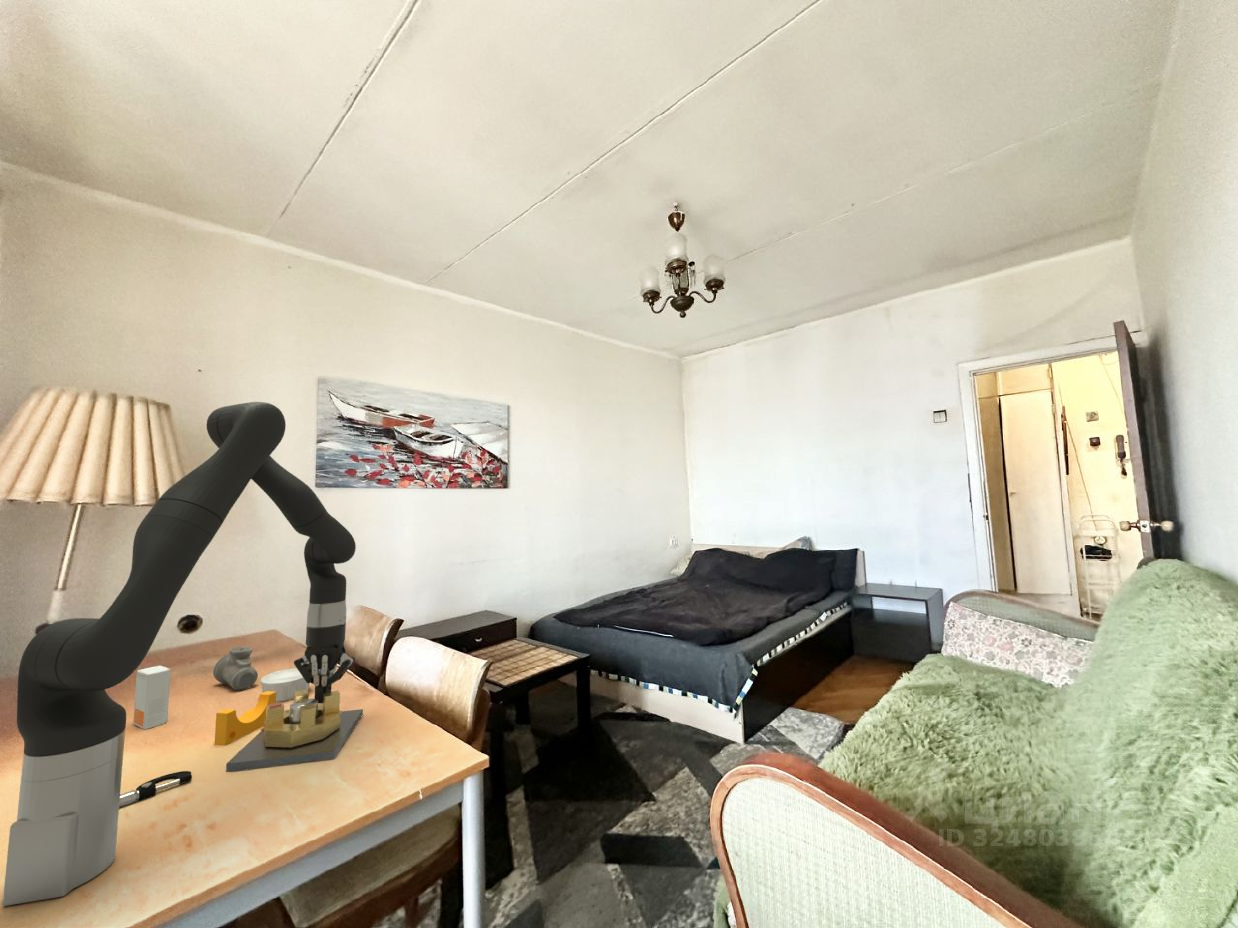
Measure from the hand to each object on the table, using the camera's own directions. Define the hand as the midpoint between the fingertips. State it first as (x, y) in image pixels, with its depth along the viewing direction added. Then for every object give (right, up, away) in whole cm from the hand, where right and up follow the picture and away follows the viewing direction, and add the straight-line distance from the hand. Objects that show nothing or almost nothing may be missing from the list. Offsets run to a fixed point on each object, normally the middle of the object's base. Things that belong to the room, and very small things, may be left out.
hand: (322, 702), depth 106 cm
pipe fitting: (-40, -9, +26) cm, 48 cm away
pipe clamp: (-17, -6, -1) cm, 18 cm away
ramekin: (-22, -8, +19) cm, 30 cm away
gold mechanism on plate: (-1, -5, -5) cm, 8 cm away
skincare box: (-41, -7, +3) cm, 42 cm away
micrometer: (-18, -5, -24) cm, 30 cm away
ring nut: (-1, -4, -5) cm, 6 cm away
